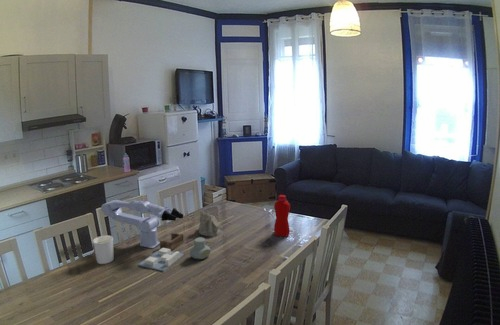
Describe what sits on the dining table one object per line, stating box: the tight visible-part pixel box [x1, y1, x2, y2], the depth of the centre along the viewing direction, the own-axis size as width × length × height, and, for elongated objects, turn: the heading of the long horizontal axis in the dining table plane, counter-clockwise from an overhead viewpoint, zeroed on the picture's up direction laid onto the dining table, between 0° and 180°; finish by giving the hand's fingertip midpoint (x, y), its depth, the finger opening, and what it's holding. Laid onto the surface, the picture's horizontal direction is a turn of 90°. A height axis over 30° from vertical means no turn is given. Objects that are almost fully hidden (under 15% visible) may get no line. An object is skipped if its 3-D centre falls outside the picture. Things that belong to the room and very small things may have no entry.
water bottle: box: [273, 194, 293, 237], centre depth 207 cm, size 9×11×25 cm
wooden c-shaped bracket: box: [159, 231, 185, 252], centre depth 195 cm, size 8×12×5 cm, turn 158°
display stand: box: [137, 248, 185, 273], centre depth 178 cm, size 16×18×4 cm
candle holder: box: [92, 234, 115, 265], centre depth 178 cm, size 10×10×12 cm
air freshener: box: [189, 236, 211, 260], centre depth 181 cm, size 11×8×10 cm
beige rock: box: [198, 210, 222, 238], centre depth 214 cm, size 16×16×15 cm
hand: (179, 217), depth 186 cm, fingers open, 7 cm apart
